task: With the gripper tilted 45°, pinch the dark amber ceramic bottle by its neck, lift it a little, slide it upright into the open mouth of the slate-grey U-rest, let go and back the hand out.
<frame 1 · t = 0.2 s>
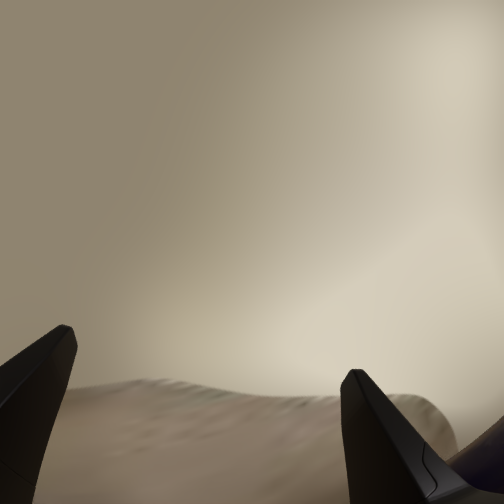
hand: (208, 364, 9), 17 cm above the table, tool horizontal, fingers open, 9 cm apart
bottle: (457, 495, 16), on the table
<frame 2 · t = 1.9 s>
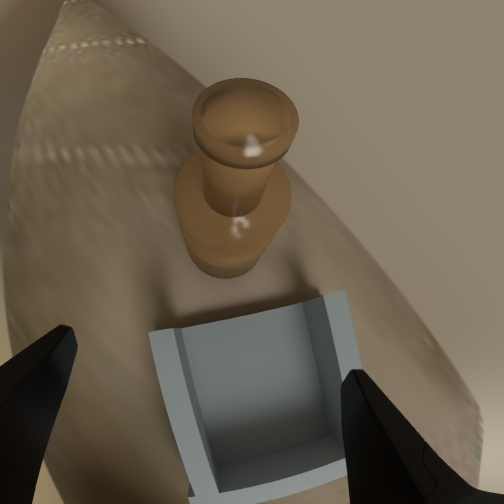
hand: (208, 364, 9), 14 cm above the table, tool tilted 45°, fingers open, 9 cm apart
amber bottle: (225, 240, 24), on the table
u rest: (257, 386, 21), on the table
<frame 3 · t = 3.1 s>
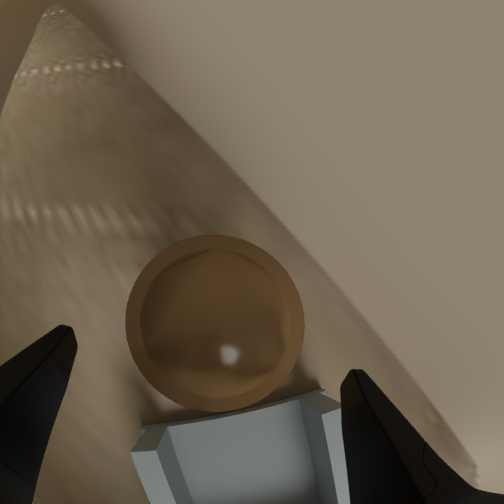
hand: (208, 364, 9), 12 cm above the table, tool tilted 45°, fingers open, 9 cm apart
amber bottle: (212, 329, 20), on the table
u rest: (250, 475, 18), on the table
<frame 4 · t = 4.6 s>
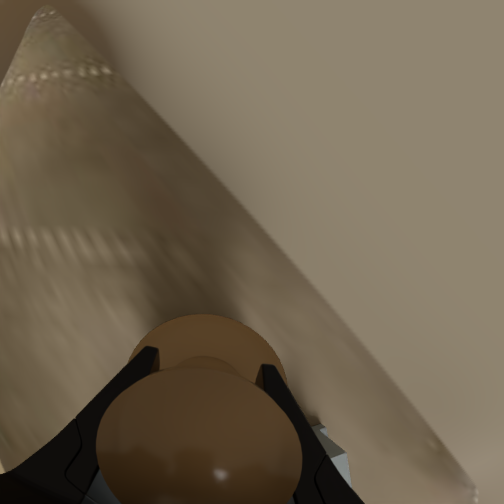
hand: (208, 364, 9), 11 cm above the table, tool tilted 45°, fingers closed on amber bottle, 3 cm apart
amber bottle: (208, 366, 18), on the table, touching gripper
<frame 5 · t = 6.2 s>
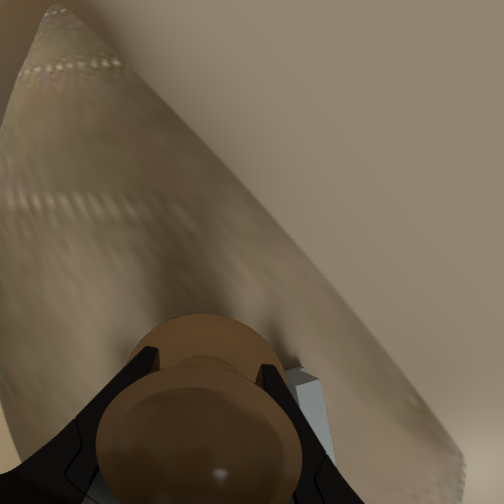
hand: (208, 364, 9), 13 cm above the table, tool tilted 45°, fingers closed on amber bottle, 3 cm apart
amber bottle: (208, 366, 18), point 3 cm above the table, touching gripper
u rest: (233, 449, 20), on the table
when the fingers open (12 cm above the table, at t = 8.1 s): amber bottle stays where it is, resting on u rest.
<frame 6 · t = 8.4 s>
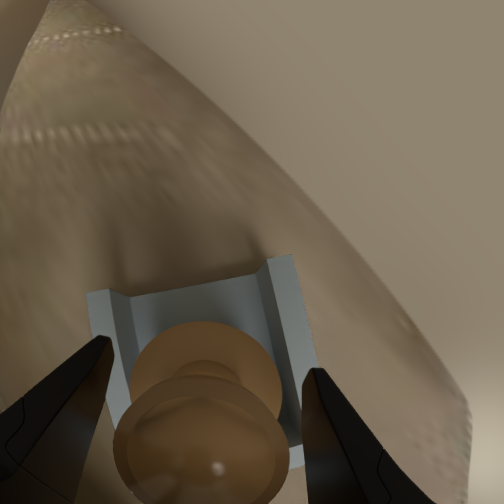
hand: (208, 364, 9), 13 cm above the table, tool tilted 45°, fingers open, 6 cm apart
amber bottle: (207, 365, 19), point 1 cm above the table, touching u rest
u rest: (208, 362, 20), on the table
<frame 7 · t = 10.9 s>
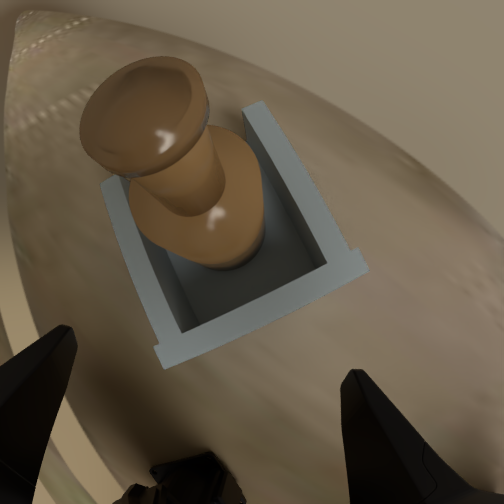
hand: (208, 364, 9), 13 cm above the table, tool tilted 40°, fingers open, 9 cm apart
amber bottle: (223, 228, 22), point 1 cm above the table, touching u rest
u rest: (225, 230, 23), on the table
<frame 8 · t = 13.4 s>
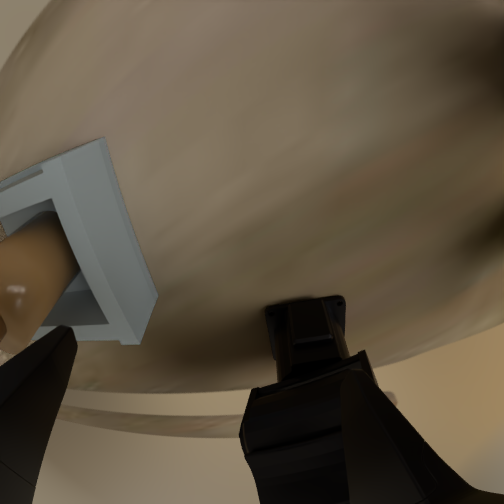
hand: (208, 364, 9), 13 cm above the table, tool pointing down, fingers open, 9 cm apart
amber bottle: (54, 245, 20), point 1 cm above the table, touching u rest
u rest: (60, 239, 21), on the table
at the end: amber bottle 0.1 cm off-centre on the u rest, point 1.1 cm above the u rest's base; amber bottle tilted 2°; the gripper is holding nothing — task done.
